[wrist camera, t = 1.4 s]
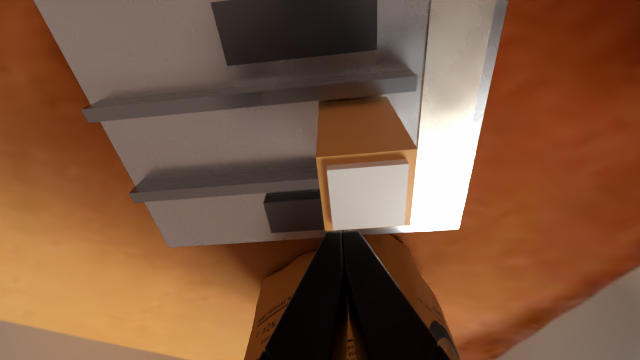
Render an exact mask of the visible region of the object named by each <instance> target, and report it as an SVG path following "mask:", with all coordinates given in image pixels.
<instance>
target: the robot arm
mask: <svg viewBox="0 0 640 360" xmlns="http://www.w3.org/2000/svg"><path fill="white" fill-rule="evenodd" d="M347 301H348V303H347ZM348 312H349V320H350V326H351V331H352V336H353V341H354V347H355V352H356V357H357V360H451V359H450V358H449V356H448V355H447V354H446V352H445V351H444V349H443V348H442V347H441V346H440V345H438V341H437V340H436V338H435V337H434V336H433V334H432V333H431V331H430V330H429V329H428V327H427V326H426V324H425V323H424V322H423V320H422V319H421V317H420V316H419V315H418V313H417V312H416V310H415V309H414V308H413V306H412V305H411V303H410V302H409V301H408V299H407V298H406V296H405V295H404V294H403V292H402V291H401V289H400V288H399V287H398V285H397V284H396V282H395V281H394V280H393V278H392V277H391V275H390V274H389V273H388V271H387V270H386V268H385V267H384V266H383V264H382V263H381V261H380V260H379V259H378V257H377V256H376V254H375V253H374V251H373V250H372V249H371V247H370V246H369V244H368V243H367V242H366V240H365V239H364V237H363V236H362V235H361V233H360V232H359V231H358V230H348V231H343V235H342V232H341V231H332V232H327V233H326V234H325V236H324V237H323V239H322V241H321V243H320V245H319V247H318V249H317V251H316V252H315V254H314V256H313V258H312V260H311V262H310V264H309V265H308V267H307V269H306V271H305V273H304V275H303V277H302V279H301V280H300V282H299V284H298V286H297V288H296V290H295V292H294V293H293V295H292V297H291V299H290V301H289V303H288V305H287V307H286V308H285V310H284V312H283V314H282V316H281V318H280V320H279V321H278V323H277V325H276V327H275V329H274V331H273V333H272V334H271V336H270V338H269V340H268V342H267V344H266V346H265V351H262V353H261V355H260V357H259V358H258V360H346V357H347V336H348Z"/></svg>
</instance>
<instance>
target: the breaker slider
mask: <svg viewBox="0 0 640 360" xmlns="http://www.w3.org/2000/svg"><path fill="white" fill-rule="evenodd" d="M417 151H418V149H417V147H416V145H415V144H414V142H413V140H412V139H411V137H410V135H409V133H408V132H407V130H406V128H405V127H404V125H403V123H402V121H401V120H400V118H399V116H398V115H397V113H396V111H395V109H394V108H393V106H392V104H391V103H390V101H389V99H388V98H387V97H378V98H367V99H357V100H346V101H336V102H325V103H319V108H318V127H317V146H316V162H317V170H318V178H319V187H320V195H321V203H322V211H323V219H324V227H325V231H336V230H351V229H366V228H381V227H397V226H411V216H412V205H413V194H414V183H415V172H416V162H417Z"/></svg>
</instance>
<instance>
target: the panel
mask: <svg viewBox="0 0 640 360" xmlns="http://www.w3.org/2000/svg"><path fill="white" fill-rule="evenodd" d="M34 2H35V4H36V6H37V7H38V9H39V11H40V13H41V15H42V17H43V18H44V20H45V22H46V24H47V26H48V28H49V29H50V31H51V33H52V35H53V37H54V39H55V40H56V42H57V44H58V46H59V48H60V50H61V51H62V53H63V55H64V57H65V59H66V60H67V62H68V64H69V66H70V68H71V70H72V71H73V73H74V75H75V77H76V79H77V81H78V82H79V84H80V86H81V88H82V90H83V92H84V93H85V95H86V97H87V99H88V101H89V103H90V104H91V105H89V106H87V107H85V108H83V109H81V111H82V113H83V114H84V116H85V118H86V120H87V121H88V123H91V122H100V123H101V124H102V126H103V128H104V130H105V132H106V134H107V135H108V137H109V139H110V141H111V143H112V145H113V146H114V148H115V150H116V152H117V154H118V156H119V157H120V159H121V161H122V163H123V165H124V166H125V168H126V170H127V172H128V174H129V176H130V177H131V179H132V181H133V183H134V185H135V187H134V189H133V190H132V191H131V192H130V193H129V195H130V197H131V198H132V200H133V202H134V203H138V202H144V203H145V205H146V207H147V209H148V210H149V212H150V214H151V216H152V218H153V219H154V221H155V223H156V225H157V227H158V229H159V230H160V232H161V234H162V236H163V238H164V240H165V241H166V243H167V245H168V247H169V248H170V247H185V246H201V245H217V244H232V243H248V242H263V241H279V240H295V239H310V238H323V237H324V236H325V234H326V233H327V232H332V231H325V227H324V219H323V211H322V203H321V195H320V187H319V178H318V170H317V162H316V146H317V127H318V108H319V103H325V102H336V101H346V100H357V99H367V98H378V97H387V98H388V99H389V101H390V103H391V104H392V106H393V108H394V109H395V111H396V113H397V115H398V116H399V118H400V120H401V121H402V123H403V125H404V127H405V128H406V130H407V132H408V133H409V135H410V137H411V139H412V140H413V142H414V144H415V145H416V147H417V149H418V151H417V162H416V172H415V183H414V194H413V205H412V216H411V226H397V227H381V228H366V229H351V230H358V231H359V232H360V233H361V235H372V234H388V233H404V232H419V231H435V230H450V229H459V226H460V221H461V217H462V212H463V208H464V203H465V198H466V194H467V189H468V184H469V180H470V175H471V171H472V166H473V161H474V157H475V152H476V147H477V143H478V138H479V134H480V129H481V124H482V120H483V115H484V110H485V106H486V101H487V96H488V92H489V87H490V83H491V78H492V73H493V69H494V64H495V59H496V55H497V50H498V46H499V41H500V36H501V32H502V27H503V22H504V18H505V13H506V9H507V4H508V0H34ZM336 231H341V232H342V235H343V231H348V230H336Z"/></svg>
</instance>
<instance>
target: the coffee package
mask: <svg viewBox="0 0 640 360" xmlns="http://www.w3.org/2000/svg"><path fill="white" fill-rule="evenodd" d="M363 237H364V239H365V240H366V242H367V243H368V244H369V246H370V247H371V249H372V250H373V251H374V253H375V254H376V256H377V257H378V259H379V260H380V261H381V263H382V264H383V266H384V267H385V268H386V270H387V271H388V273H389V274H390V275H391V277H392V278H393V280H394V281H395V282H396V284H397V285H398V287H399V288H400V289H401V291H402V292H403V294H404V295H405V296H406V298H407V299H408V301H409V302H410V303H411V305H412V306H413V308H414V309H415V310H416V312H417V313H418V315H419V316H420V317H421V319H422V320H423V322H424V323H425V324H426V326H427V327H428V329H429V330H430V331H431V333H432V334H433V336H434V337H435V338H436V340H437V341H438V345H440V346H441V347H442V348H443V349H444V351H445V352H446V354H447V355H448V356H449V358H450V359H451V360H460V359H459V355H458V352H457V349H456V346H455V343H454V340H453V338H452V335H451V333H450V330H449V328H448V325H447V323H446V320H445V318H444V315H443V312H442V310H441V307H440V305H439V303H438V301H437V299H436V297H435V295H434V293H433V292H432V290H431V289H430V287H429V286H428V285H427V284H426V282H425V281H424V280H423V278H422V276H421V275H420V273H419V272H418V270H417V269H416V267H415V265H414V262H413V259H412V256H411V254H410V251H409V249H408V248H407V247H406V246H405V245H404V244H402V243H401V242H399V241H398V240H397V239H395V238H394V237H393V236H392V235H390V234H372V235H364V236H363ZM315 252H316V251H312V252H308V253H305V254H303V255H301V256H299V257H298V258H296V259H295V260H294V261H292V262H291V263H290V264H289V265H288V266H286V267H285V268H284V269H282V270H280V271H278V272H277V273H274V274H272V275H270V276H268V277H266V278H265V279H264V280H263V282H262V286H261V290H260V295H259V299H258V302H257V306H256V312H255V318H254V322H253V327H252V331H251V335H250V339H249V343H248V346H247V350H246V354H245V358H244V360H258V358H259V357H260V355H261V353H262V351H265V346H266V344H267V342H268V340H269V338H270V336H271V334H272V333H273V331H274V329H275V327H276V325H277V323H278V321H279V320H280V318H281V316H282V314H283V312H284V310H285V308H286V307H287V305H288V303H289V301H290V299H291V297H292V295H293V293H294V292H295V290H296V288H297V286H298V284H299V282H300V280H301V279H302V277H303V275H304V273H305V271H306V269H307V267H308V265H309V264H310V262H311V260H312V258H313V256H314V254H315ZM347 303H348V301H347ZM346 360H357V357H356V352H355V347H354V341H353V336H352V331H351V326H350V320H349V312H348V336H347V357H346Z"/></svg>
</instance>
